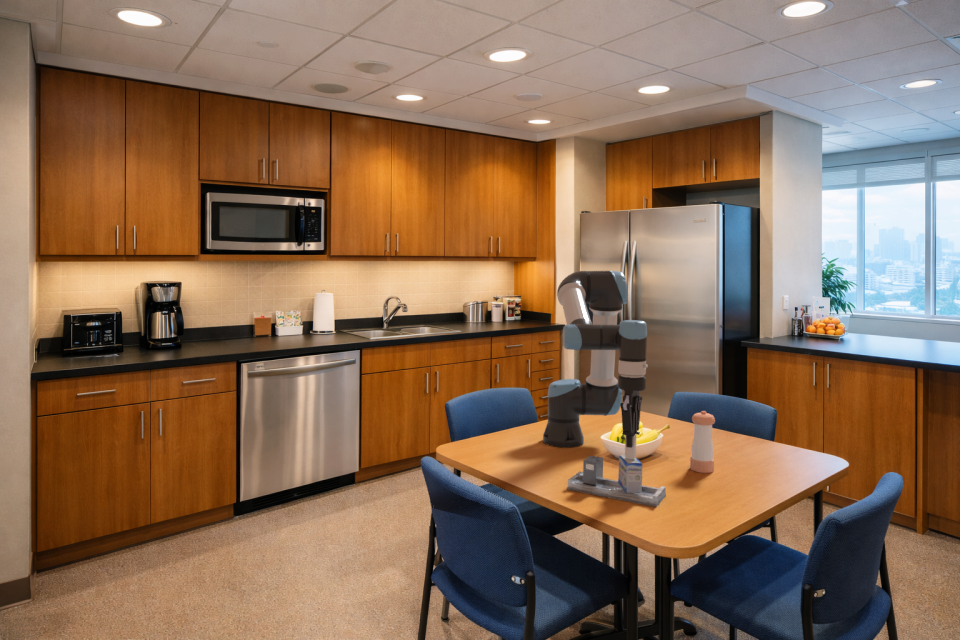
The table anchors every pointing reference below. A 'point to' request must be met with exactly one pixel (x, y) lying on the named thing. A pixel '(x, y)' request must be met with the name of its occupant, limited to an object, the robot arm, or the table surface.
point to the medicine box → (630, 474)
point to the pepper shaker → (702, 443)
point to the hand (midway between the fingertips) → (630, 457)
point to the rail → (611, 485)
